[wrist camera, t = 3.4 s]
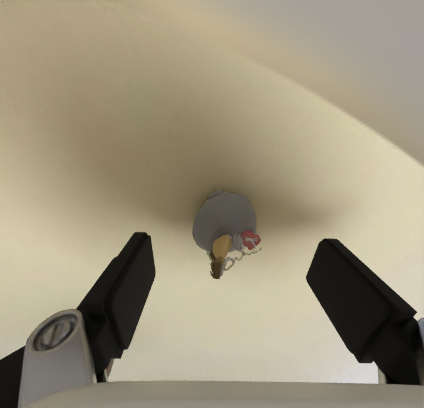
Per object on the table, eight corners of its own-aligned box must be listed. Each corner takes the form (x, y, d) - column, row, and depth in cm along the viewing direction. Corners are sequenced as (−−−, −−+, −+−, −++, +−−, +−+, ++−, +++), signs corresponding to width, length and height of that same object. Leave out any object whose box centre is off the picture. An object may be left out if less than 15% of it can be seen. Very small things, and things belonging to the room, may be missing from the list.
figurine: (206, 175, 12) (203, 220, 6) (263, 193, 12) (304, 247, 7) (187, 234, 14) (173, 305, 9) (237, 247, 15) (253, 320, 9)
